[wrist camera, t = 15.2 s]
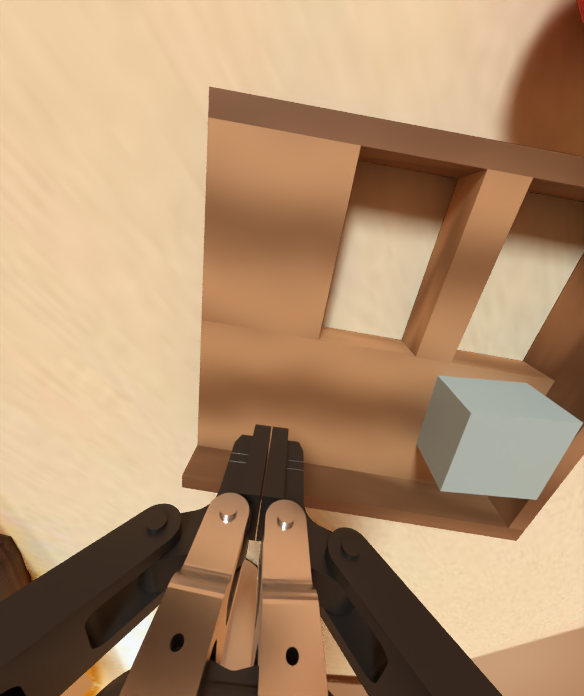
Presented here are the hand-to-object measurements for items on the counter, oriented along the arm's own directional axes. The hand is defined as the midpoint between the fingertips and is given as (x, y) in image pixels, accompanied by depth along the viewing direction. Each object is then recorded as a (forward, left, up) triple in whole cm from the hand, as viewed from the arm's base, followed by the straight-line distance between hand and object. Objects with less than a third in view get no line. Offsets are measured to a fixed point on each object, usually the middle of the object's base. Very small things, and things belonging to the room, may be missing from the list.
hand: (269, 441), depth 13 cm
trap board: (+4, -5, -7) cm, 9 cm away
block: (0, -12, -5) cm, 12 cm away
